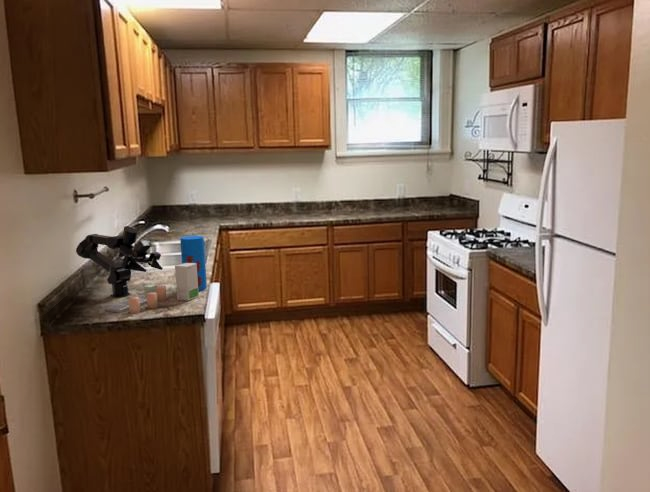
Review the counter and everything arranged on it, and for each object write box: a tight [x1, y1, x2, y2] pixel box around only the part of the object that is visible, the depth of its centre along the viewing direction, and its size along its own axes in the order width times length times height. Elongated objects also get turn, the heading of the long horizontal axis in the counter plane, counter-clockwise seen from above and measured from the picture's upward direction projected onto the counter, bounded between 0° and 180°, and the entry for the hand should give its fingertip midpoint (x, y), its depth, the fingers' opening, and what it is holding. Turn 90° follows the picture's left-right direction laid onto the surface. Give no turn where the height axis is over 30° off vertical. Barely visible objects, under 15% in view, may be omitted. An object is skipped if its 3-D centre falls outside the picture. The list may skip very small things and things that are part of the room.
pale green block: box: [143, 284, 158, 298], centre depth 248 cm, size 4×4×5 cm
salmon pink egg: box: [145, 292, 159, 310], centre depth 231 cm, size 4×4×6 cm
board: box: [104, 296, 147, 314], centre depth 234 cm, size 9×19×1 cm, turn 154°
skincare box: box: [174, 263, 200, 301], centre depth 243 cm, size 8×7×16 cm
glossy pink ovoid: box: [156, 285, 168, 302], centre depth 241 cm, size 4×4×6 cm
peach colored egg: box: [127, 296, 142, 314], centre depth 225 cm, size 4×4×6 cm
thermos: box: [179, 235, 208, 292], centre depth 258 cm, size 11×11×25 cm
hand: (154, 269), depth 236 cm, fingers open, 9 cm apart
